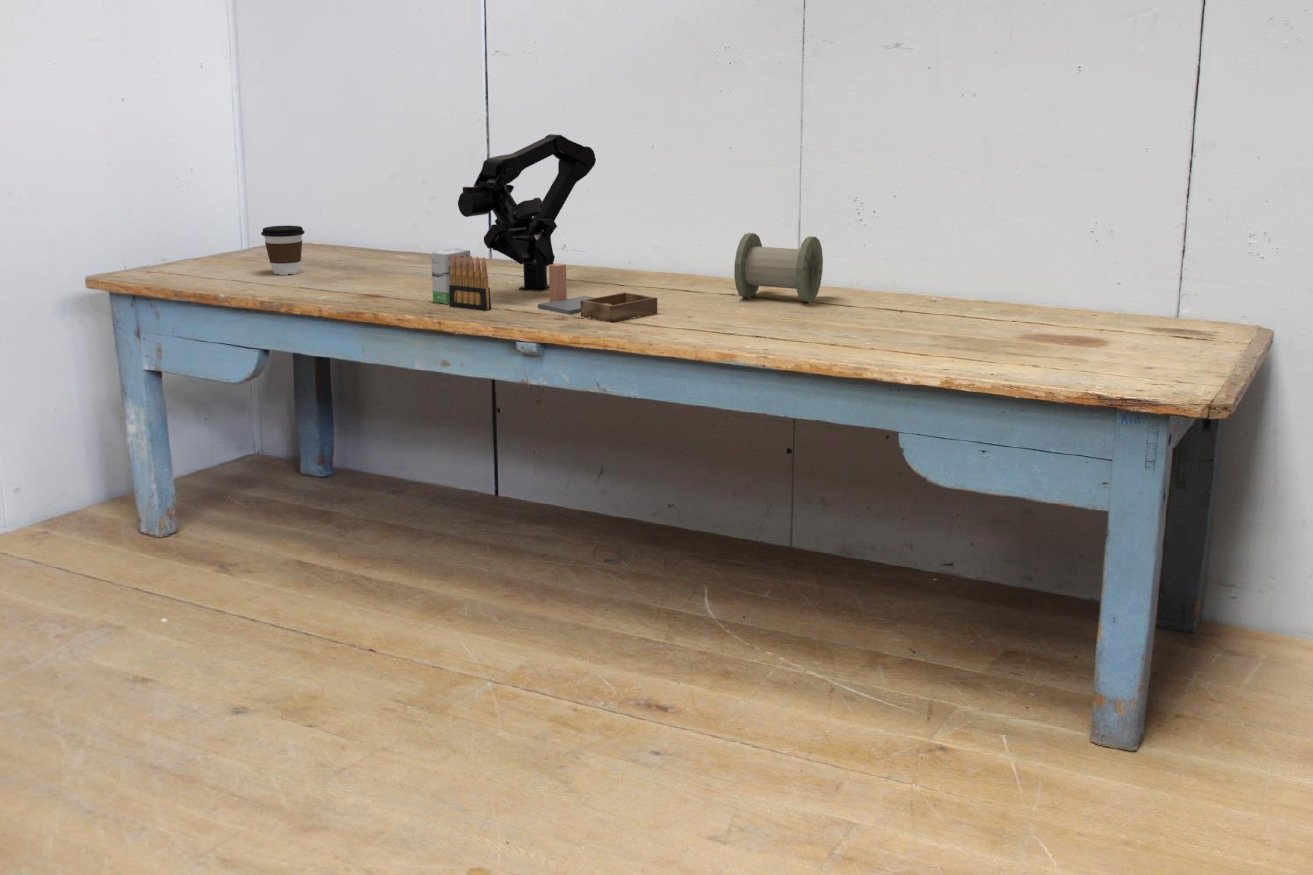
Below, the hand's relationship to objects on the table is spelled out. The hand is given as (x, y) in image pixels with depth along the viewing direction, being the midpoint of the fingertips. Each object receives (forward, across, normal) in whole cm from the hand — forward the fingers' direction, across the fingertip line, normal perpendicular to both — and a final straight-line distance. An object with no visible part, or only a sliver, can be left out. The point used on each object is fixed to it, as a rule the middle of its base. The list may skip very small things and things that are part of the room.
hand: (537, 261), depth 301 cm
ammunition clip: (+4, -17, +10) cm, 20 cm away
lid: (+15, +1, -1) cm, 15 cm away
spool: (+34, +40, -22) cm, 57 cm away
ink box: (-4, -14, +17) cm, 22 cm away
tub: (+25, +1, -12) cm, 28 cm away
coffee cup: (-48, -19, +62) cm, 81 cm away
